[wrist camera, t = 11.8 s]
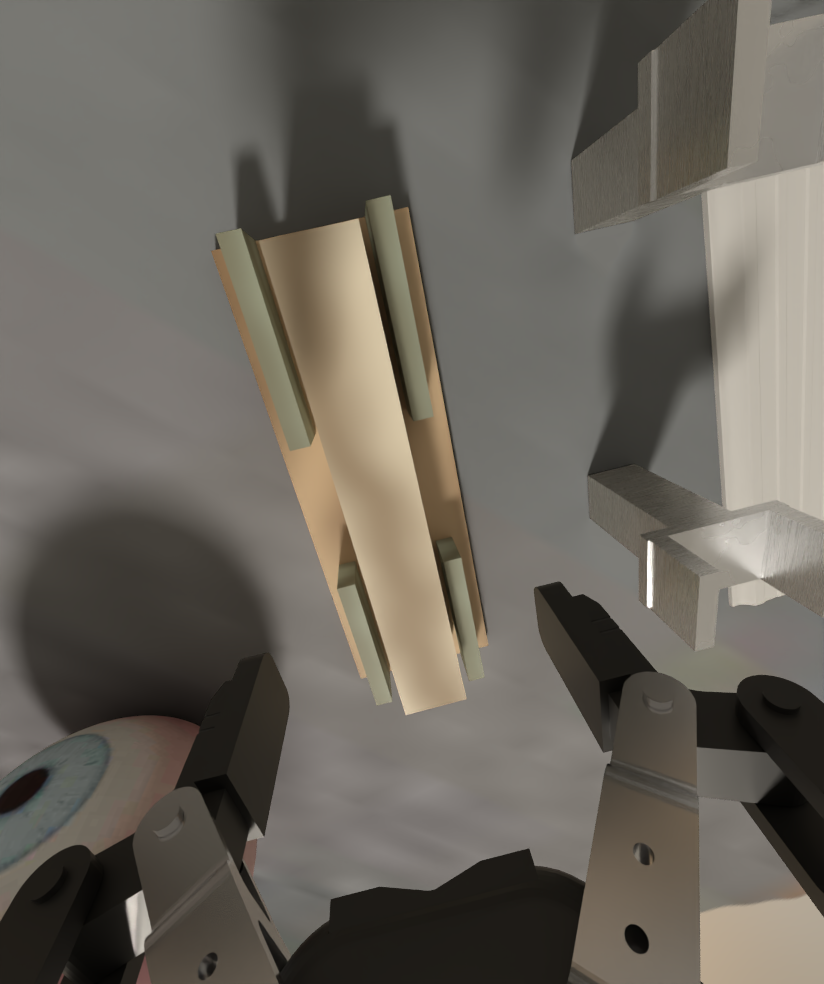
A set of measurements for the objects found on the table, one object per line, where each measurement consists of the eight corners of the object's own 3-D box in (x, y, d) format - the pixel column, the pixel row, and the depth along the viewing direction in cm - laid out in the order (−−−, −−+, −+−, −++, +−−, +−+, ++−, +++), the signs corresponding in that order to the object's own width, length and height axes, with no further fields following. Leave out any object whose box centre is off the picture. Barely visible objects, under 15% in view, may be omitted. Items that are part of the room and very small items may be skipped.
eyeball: (213, 629, 26) (50, 966, 12) (311, 773, 32) (275, 1115, 18) (-7, 709, 26) (-412, 1130, 13) (129, 838, 32) (-44, 1225, 18)
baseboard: (703, 606, 31) (854, 549, 31) (736, 632, 29) (901, 569, 28) (656, 113, 20) (897, 15, 19) (703, 79, 17) (985, -35, 17)
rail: (358, 243, 19) (358, 218, 15) (450, 643, 28) (466, 699, 24) (281, 260, 19) (258, 240, 15) (398, 656, 28) (405, 715, 24)
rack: (406, 210, 19) (415, 189, 16) (485, 639, 29) (499, 673, 26) (215, 253, 19) (190, 239, 16) (360, 671, 29) (361, 709, 26)
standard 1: (667, 131, 19) (1009, -88, 9) (665, 220, 21) (960, 115, 11) (535, 160, 19) (736, -31, 9) (542, 248, 21) (722, 169, 10)
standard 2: (660, 452, 25) (861, 534, 15) (659, 504, 27) (843, 612, 17) (560, 477, 25) (697, 577, 15) (564, 528, 27) (692, 652, 16)
